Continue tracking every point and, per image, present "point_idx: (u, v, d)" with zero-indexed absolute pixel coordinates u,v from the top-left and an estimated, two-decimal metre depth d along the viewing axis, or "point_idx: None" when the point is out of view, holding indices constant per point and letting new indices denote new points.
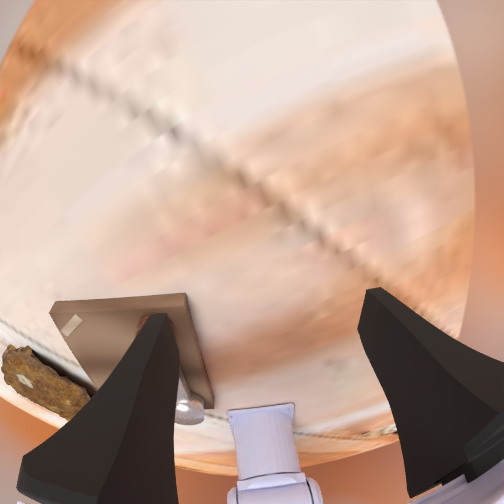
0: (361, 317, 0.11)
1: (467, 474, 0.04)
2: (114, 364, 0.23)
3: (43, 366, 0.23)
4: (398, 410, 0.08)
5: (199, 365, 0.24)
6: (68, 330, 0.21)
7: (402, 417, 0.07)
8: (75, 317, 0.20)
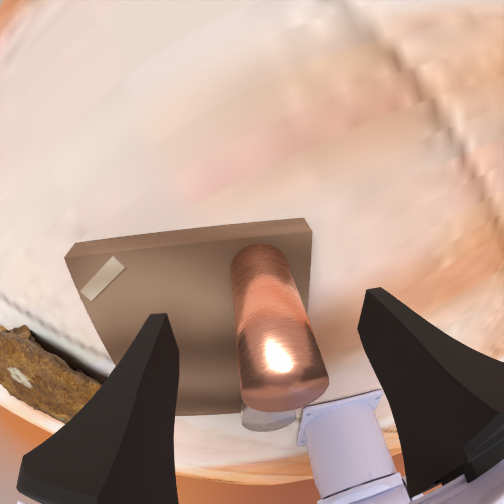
0: (361, 317, 0.11)
1: (467, 474, 0.04)
2: None
3: (47, 354, 0.15)
4: (398, 410, 0.08)
5: None
6: (94, 289, 0.13)
7: (402, 417, 0.07)
8: (110, 263, 0.13)
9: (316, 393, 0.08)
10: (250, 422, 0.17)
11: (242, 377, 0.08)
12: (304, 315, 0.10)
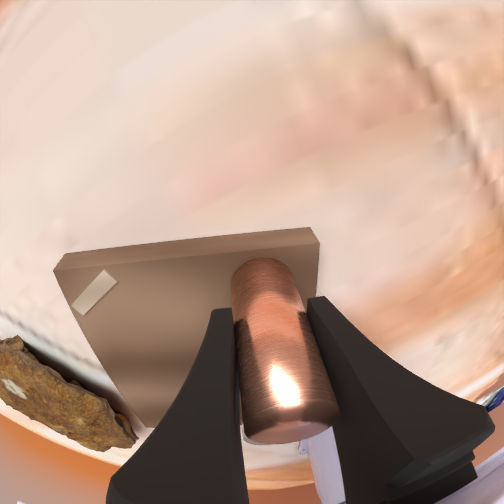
0: None
1: None
2: (163, 363, 0.15)
3: (40, 366, 0.14)
4: (336, 428, 0.08)
5: None
6: (85, 303, 0.12)
7: (339, 436, 0.07)
8: (102, 276, 0.12)
9: (325, 425, 0.07)
10: None
11: (245, 412, 0.07)
12: (313, 341, 0.08)
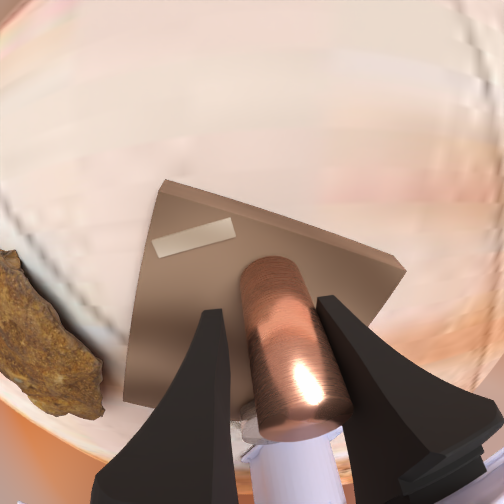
0: None
1: None
2: None
3: (40, 300, 0.11)
4: (346, 426, 0.08)
5: None
6: (173, 245, 0.11)
7: (349, 433, 0.07)
8: (220, 224, 0.11)
9: (337, 423, 0.07)
10: (251, 436, 0.16)
11: (261, 410, 0.07)
12: (326, 339, 0.08)
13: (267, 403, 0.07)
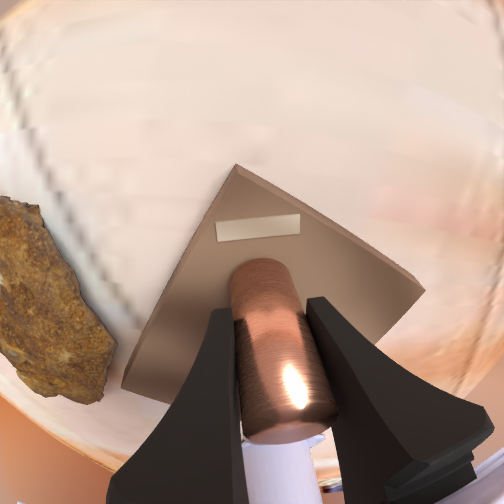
0: None
1: None
2: None
3: (64, 264, 0.11)
4: (335, 428, 0.08)
5: None
6: (235, 231, 0.11)
7: (338, 436, 0.07)
8: (288, 219, 0.11)
9: (324, 426, 0.07)
10: None
11: (244, 413, 0.07)
12: (311, 341, 0.08)
13: (249, 407, 0.07)
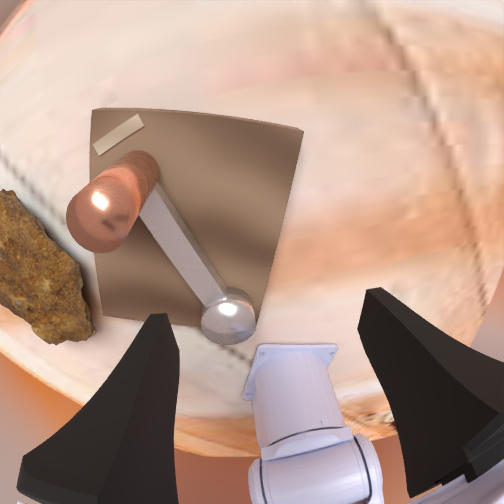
0: (361, 317, 0.11)
1: (466, 474, 0.04)
2: None
3: (29, 214, 0.15)
4: (398, 410, 0.08)
5: (276, 240, 0.19)
6: (106, 144, 0.14)
7: (402, 417, 0.07)
8: (132, 120, 0.14)
9: (121, 220, 0.10)
10: (211, 331, 0.19)
11: None
12: (123, 172, 0.11)
13: None
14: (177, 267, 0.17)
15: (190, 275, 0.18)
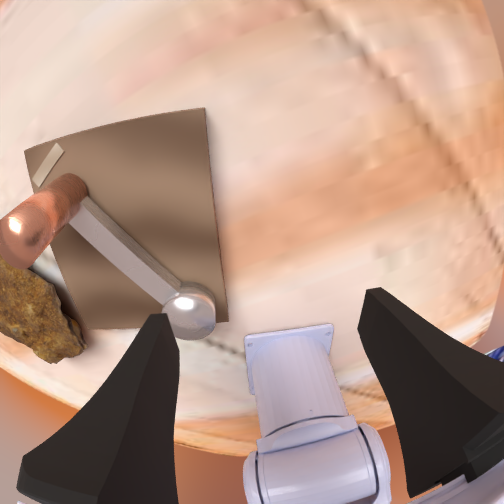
0: (361, 317, 0.11)
1: (466, 474, 0.04)
2: None
3: None
4: (398, 410, 0.08)
5: (214, 224, 0.18)
6: (41, 176, 0.15)
7: (402, 417, 0.07)
8: (54, 149, 0.14)
9: (27, 237, 0.10)
10: (174, 328, 0.19)
11: None
12: (35, 197, 0.11)
13: None
14: (123, 271, 0.17)
15: (137, 276, 0.17)
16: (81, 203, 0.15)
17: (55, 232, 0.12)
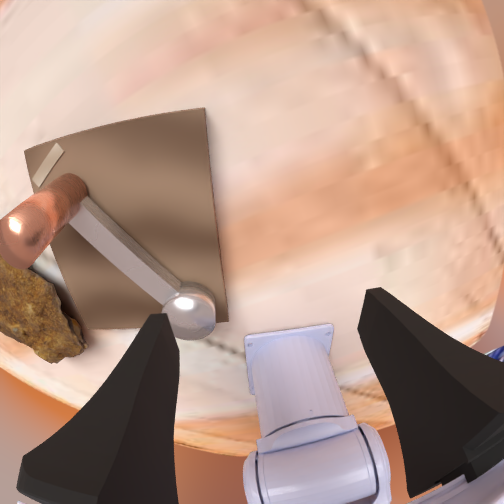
0: (361, 317, 0.11)
1: (466, 474, 0.04)
2: None
3: None
4: (398, 410, 0.08)
5: (214, 224, 0.18)
6: (41, 176, 0.15)
7: (402, 417, 0.07)
8: (54, 149, 0.14)
9: (27, 237, 0.10)
10: (174, 328, 0.19)
11: None
12: (35, 197, 0.11)
13: None
14: (123, 271, 0.17)
15: (137, 276, 0.17)
16: (81, 203, 0.15)
17: (55, 232, 0.12)
